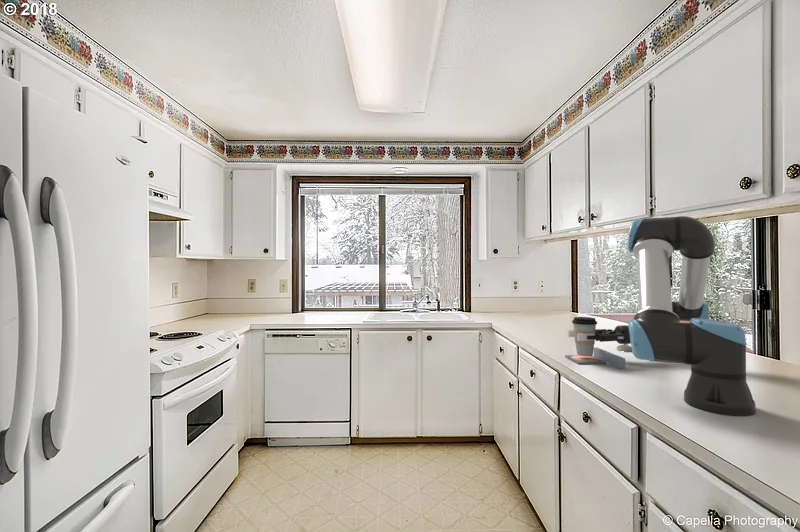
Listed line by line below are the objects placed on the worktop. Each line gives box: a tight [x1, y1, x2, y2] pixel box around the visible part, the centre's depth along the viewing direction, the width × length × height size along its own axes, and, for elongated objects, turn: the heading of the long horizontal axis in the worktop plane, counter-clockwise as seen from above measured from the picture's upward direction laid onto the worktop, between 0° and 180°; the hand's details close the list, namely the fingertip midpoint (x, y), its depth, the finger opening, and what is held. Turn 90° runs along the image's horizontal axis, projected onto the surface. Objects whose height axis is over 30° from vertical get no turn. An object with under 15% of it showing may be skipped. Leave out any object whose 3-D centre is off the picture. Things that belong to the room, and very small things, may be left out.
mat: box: [564, 354, 607, 365], centre depth 157 cm, size 12×11×1 cm
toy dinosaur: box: [616, 344, 633, 353], centre depth 181 cm, size 22×3×7 cm
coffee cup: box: [571, 316, 598, 356], centre depth 157 cm, size 9×9×15 cm
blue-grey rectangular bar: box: [593, 347, 626, 370], centre depth 153 cm, size 20×2×4 cm, turn 1°
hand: (572, 335), depth 157 cm, fingers closed on coffee cup, 8 cm apart
